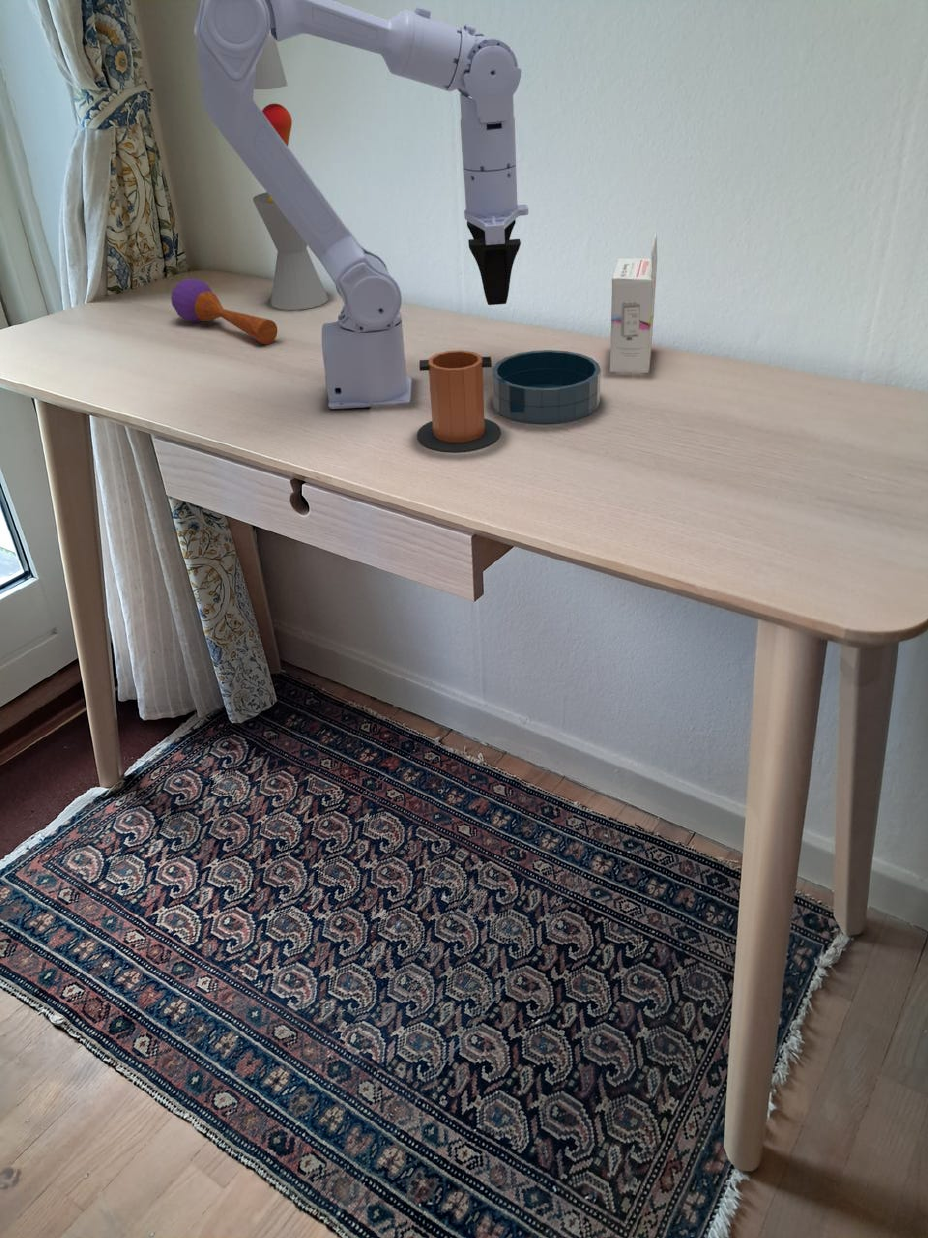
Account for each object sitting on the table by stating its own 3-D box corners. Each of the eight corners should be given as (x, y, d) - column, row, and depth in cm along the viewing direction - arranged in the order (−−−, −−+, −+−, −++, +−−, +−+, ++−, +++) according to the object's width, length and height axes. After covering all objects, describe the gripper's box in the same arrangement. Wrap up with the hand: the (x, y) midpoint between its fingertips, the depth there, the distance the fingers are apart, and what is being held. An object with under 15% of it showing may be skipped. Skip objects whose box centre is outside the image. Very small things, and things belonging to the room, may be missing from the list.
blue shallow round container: (495, 431, 107) (494, 392, 104) (490, 389, 117) (489, 352, 114) (605, 426, 107) (607, 386, 104) (591, 384, 117) (592, 347, 114)
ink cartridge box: (612, 351, 125) (617, 231, 117) (651, 352, 125) (659, 231, 116) (607, 376, 119) (611, 250, 110) (648, 377, 118) (656, 250, 109)
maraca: (244, 322, 129) (157, 284, 140) (256, 361, 133) (171, 322, 144) (278, 302, 132) (191, 267, 142) (289, 341, 136) (203, 304, 147)
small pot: (424, 444, 103) (418, 371, 99) (424, 423, 108) (419, 352, 103) (494, 441, 103) (492, 367, 98) (492, 419, 108) (490, 348, 103)
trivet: (416, 459, 102) (416, 452, 102) (418, 424, 110) (417, 417, 109) (503, 455, 102) (502, 448, 102) (498, 420, 109) (498, 413, 109)
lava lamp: (341, 298, 149) (310, 30, 129) (294, 314, 144) (254, 37, 124) (303, 288, 154) (268, 29, 134) (257, 303, 149) (213, 35, 129)
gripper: (531, 177, 100) (535, 310, 107) (522, 150, 111) (525, 272, 119) (462, 182, 100) (470, 315, 108) (460, 155, 112) (467, 276, 119)
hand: (495, 293), depth 113 cm, fingers open, 7 cm apart
